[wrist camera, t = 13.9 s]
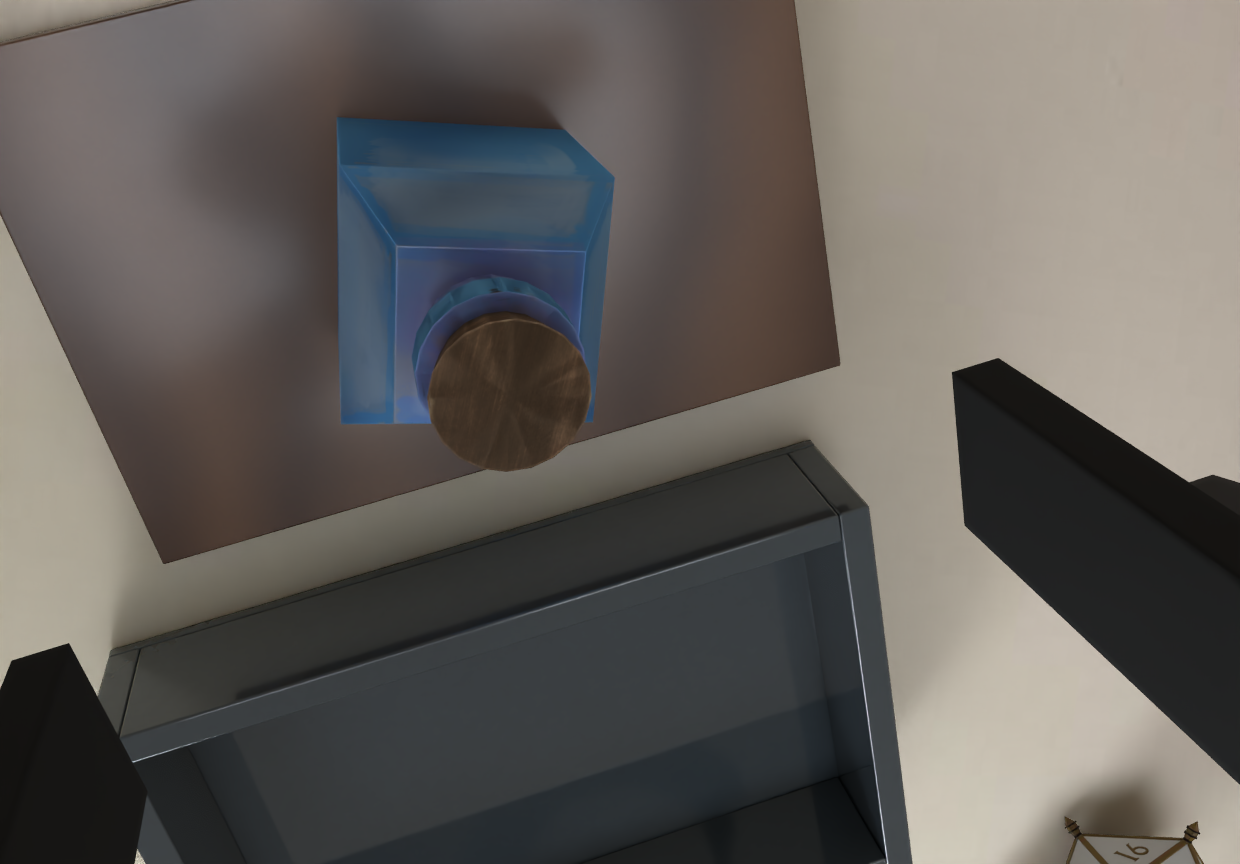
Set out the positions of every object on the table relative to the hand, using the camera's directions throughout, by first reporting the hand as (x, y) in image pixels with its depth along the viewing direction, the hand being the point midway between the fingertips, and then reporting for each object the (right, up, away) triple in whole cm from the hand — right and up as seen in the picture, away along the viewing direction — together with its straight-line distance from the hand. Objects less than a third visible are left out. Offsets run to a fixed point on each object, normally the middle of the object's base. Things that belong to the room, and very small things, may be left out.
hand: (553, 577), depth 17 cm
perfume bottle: (-4, +8, +16) cm, 18 cm away
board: (-4, +8, +17) cm, 19 cm away
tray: (-2, -8, +25) cm, 27 cm away
